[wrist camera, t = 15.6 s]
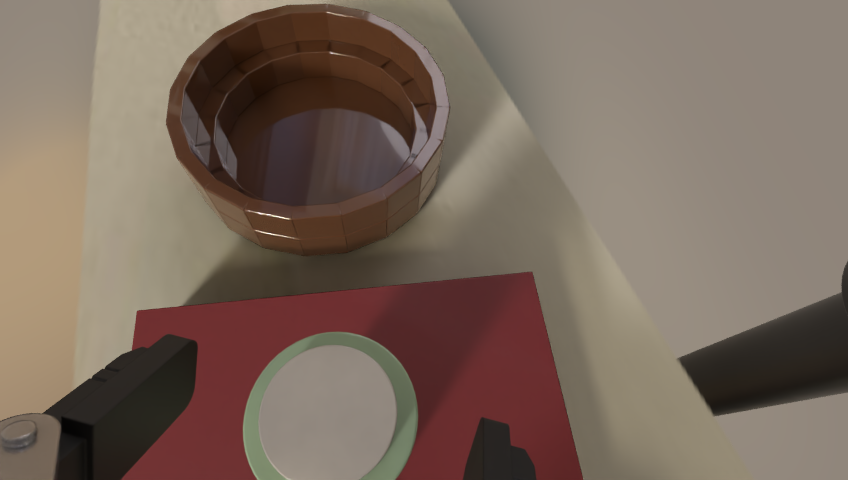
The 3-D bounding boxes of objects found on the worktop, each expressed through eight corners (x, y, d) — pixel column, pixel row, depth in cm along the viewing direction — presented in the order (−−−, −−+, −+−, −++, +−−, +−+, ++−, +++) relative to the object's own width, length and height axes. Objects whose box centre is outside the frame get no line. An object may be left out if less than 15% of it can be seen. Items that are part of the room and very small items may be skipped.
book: (520, 290, 28) (534, 271, 26) (585, 571, 22) (611, 584, 20) (162, 327, 26) (136, 310, 23) (128, 653, 20) (88, 680, 17)
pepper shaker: (400, 377, 23) (409, 314, 14) (412, 490, 21) (431, 502, 12) (297, 390, 22) (236, 333, 13) (299, 507, 20) (229, 533, 11)
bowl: (423, 59, 36) (429, 0, 32) (457, 246, 29) (469, 205, 25) (207, 68, 34) (180, 7, 30) (190, 270, 28) (151, 231, 23)
